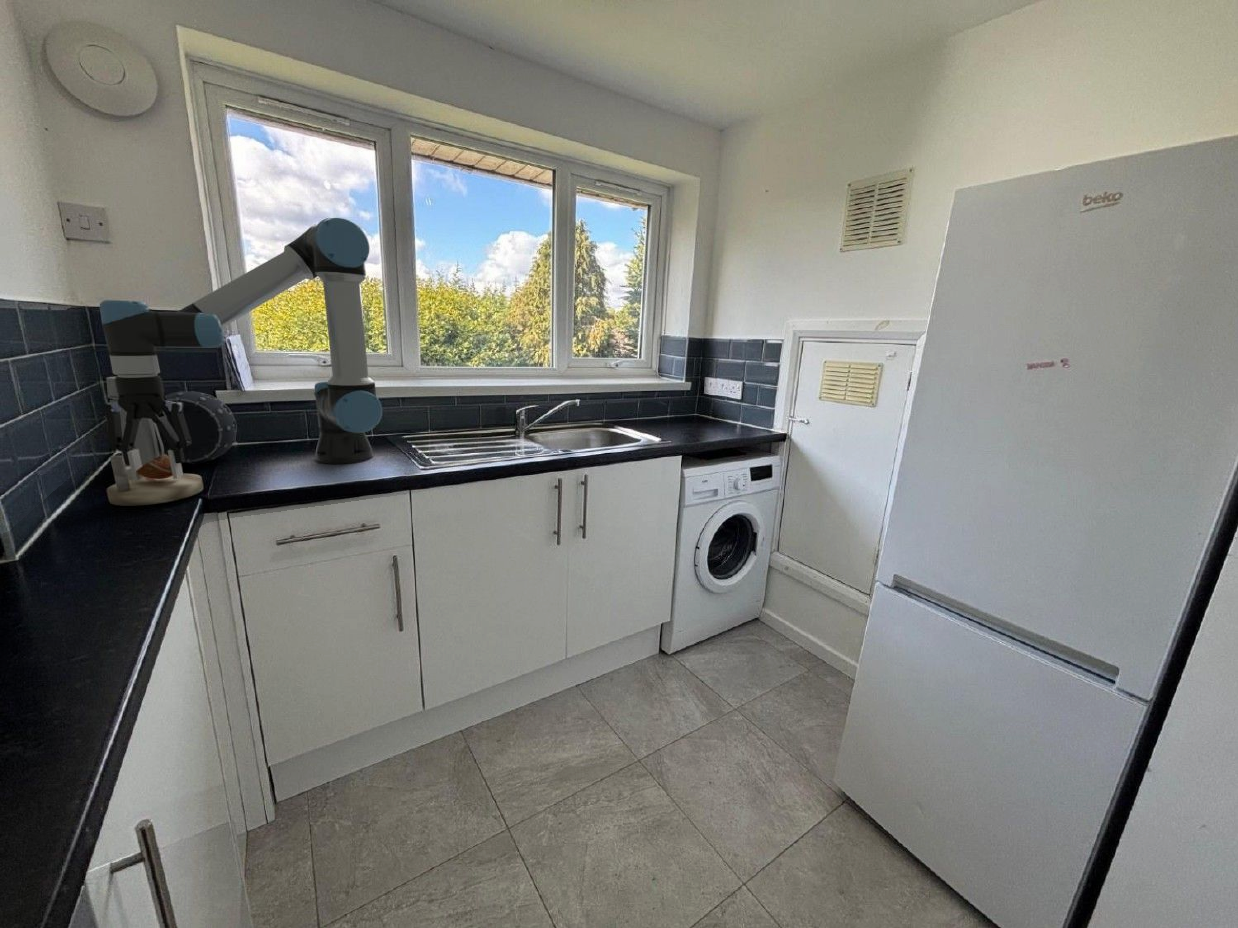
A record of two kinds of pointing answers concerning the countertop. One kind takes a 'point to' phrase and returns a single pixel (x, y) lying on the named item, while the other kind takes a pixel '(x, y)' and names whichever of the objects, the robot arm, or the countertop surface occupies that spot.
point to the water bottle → (144, 433)
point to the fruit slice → (157, 468)
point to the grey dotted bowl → (202, 426)
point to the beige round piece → (149, 487)
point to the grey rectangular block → (129, 473)
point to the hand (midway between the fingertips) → (158, 477)
